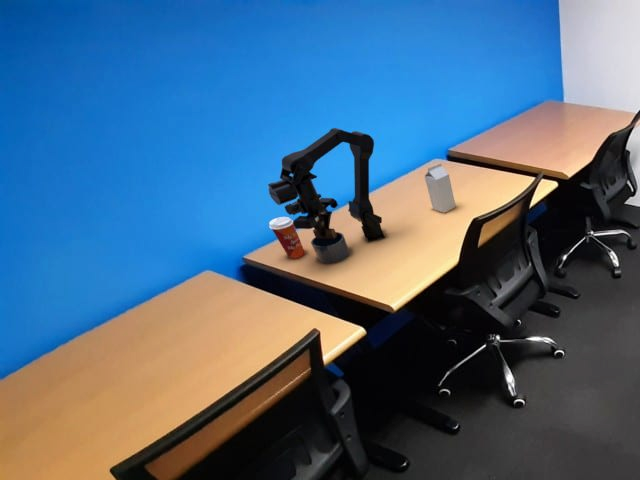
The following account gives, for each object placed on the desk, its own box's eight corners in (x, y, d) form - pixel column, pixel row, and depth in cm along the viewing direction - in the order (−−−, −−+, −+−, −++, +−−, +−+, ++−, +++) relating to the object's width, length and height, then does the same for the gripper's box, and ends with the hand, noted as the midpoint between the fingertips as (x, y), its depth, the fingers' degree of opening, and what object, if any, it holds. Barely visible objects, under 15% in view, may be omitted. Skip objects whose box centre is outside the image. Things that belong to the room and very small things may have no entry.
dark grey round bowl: (348, 245, 181) (341, 229, 177) (352, 258, 174) (345, 242, 169) (317, 252, 177) (309, 236, 173) (320, 266, 170) (312, 249, 165)
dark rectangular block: (337, 235, 171) (334, 228, 169) (334, 238, 169) (331, 231, 167) (319, 235, 171) (315, 227, 169) (315, 238, 170) (312, 230, 168)
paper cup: (298, 260, 173) (281, 226, 164) (280, 258, 174) (262, 224, 165) (312, 250, 179) (296, 216, 169) (295, 248, 180) (278, 214, 170)
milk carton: (456, 207, 206) (446, 164, 193) (444, 213, 201) (433, 170, 189) (444, 203, 209) (434, 161, 196) (432, 209, 204) (421, 166, 192)
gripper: (300, 182, 167) (318, 221, 177) (268, 205, 153) (289, 246, 163) (330, 183, 166) (346, 222, 177) (300, 206, 152) (319, 248, 163)
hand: (325, 234), depth 170 cm, fingers closed on dark rectangular block, 2 cm apart
